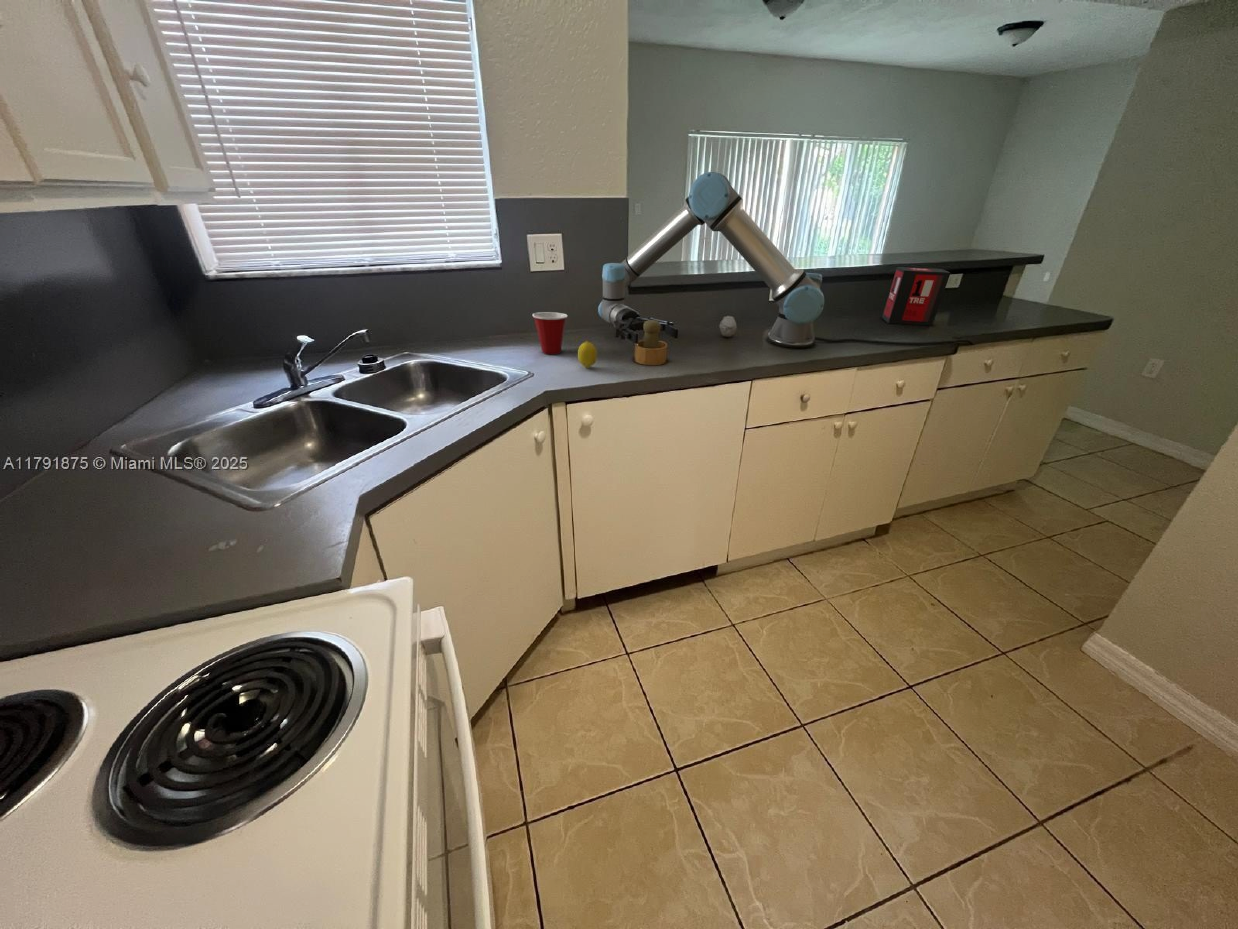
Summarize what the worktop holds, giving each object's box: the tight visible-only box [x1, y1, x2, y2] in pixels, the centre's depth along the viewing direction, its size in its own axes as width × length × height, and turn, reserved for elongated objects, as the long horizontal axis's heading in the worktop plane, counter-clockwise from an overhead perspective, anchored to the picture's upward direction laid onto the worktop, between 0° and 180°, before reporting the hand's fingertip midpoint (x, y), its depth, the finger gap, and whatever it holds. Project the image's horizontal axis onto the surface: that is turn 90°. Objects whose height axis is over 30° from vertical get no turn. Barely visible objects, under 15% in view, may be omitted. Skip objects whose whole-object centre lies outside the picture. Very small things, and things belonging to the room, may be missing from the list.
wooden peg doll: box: [642, 320, 661, 349], centre depth 147 cm, size 6×6×11 cm
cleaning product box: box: [881, 266, 952, 327], centre depth 193 cm, size 16×9×20 cm, turn 80°
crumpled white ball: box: [718, 315, 738, 338], centre depth 173 cm, size 6×7×7 cm
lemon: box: [577, 340, 598, 369], centre depth 141 cm, size 6×6×8 cm
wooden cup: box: [634, 339, 669, 366], centre depth 149 cm, size 10×10×5 cm
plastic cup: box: [532, 311, 568, 355], centre depth 153 cm, size 11×11×12 cm
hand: (657, 336), depth 144 cm, fingers open, 13 cm apart
